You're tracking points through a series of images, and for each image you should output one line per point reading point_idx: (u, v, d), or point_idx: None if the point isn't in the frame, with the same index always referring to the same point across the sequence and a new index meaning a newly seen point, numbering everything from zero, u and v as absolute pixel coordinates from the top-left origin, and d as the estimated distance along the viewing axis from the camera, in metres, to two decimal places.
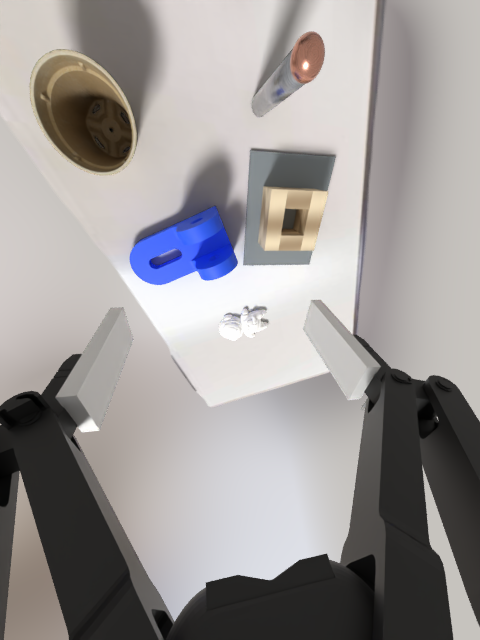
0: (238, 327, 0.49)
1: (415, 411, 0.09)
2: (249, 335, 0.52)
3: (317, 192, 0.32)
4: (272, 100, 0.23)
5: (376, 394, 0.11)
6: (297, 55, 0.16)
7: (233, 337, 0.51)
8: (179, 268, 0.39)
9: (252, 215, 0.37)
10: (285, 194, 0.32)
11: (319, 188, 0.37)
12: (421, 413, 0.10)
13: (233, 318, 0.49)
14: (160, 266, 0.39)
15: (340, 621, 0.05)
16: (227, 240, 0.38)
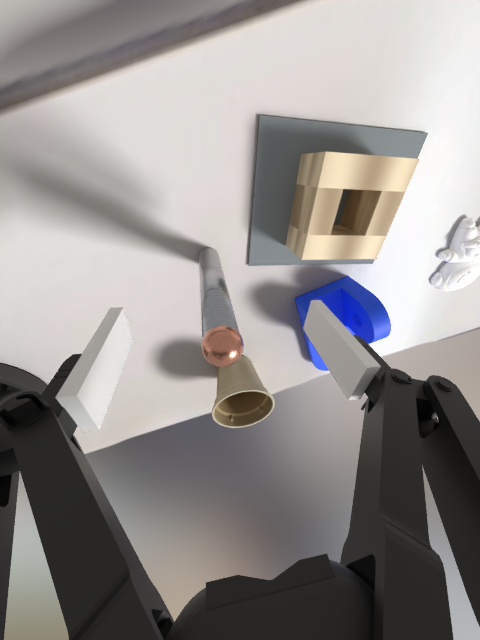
0: (466, 269, 0.32)
1: (415, 411, 0.09)
2: None
3: (321, 177, 0.18)
4: None
5: (376, 394, 0.11)
6: None
7: (477, 275, 0.33)
8: None
9: None
10: (312, 238, 0.21)
11: (302, 141, 0.21)
12: (421, 412, 0.10)
13: (444, 273, 0.33)
14: None
15: (339, 620, 0.05)
16: (336, 291, 0.30)
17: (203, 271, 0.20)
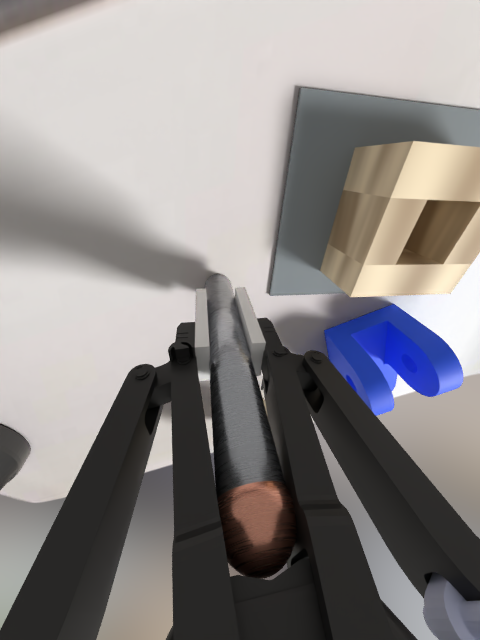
0: None
1: (297, 378, 0.10)
2: None
3: (399, 182, 0.12)
4: None
5: (267, 373, 0.12)
6: None
7: None
8: (386, 373, 0.29)
9: None
10: (369, 268, 0.15)
11: (359, 129, 0.14)
12: (301, 384, 0.11)
13: None
14: None
15: (340, 621, 0.05)
16: (381, 324, 0.23)
17: (212, 319, 0.14)
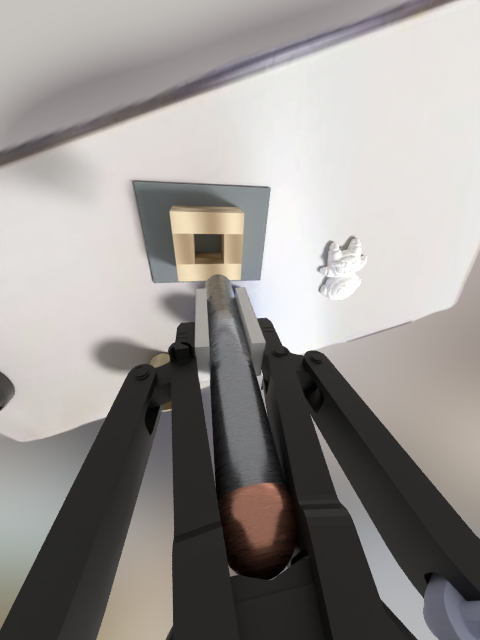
0: (341, 283, 0.39)
1: (297, 378, 0.10)
2: (361, 266, 0.38)
3: (172, 227, 0.26)
4: None
5: (267, 373, 0.12)
6: None
7: (353, 288, 0.40)
8: None
9: None
10: (181, 266, 0.29)
11: (171, 197, 0.28)
12: (301, 384, 0.11)
13: (327, 285, 0.40)
14: None
15: (340, 621, 0.05)
16: None
17: (212, 319, 0.14)
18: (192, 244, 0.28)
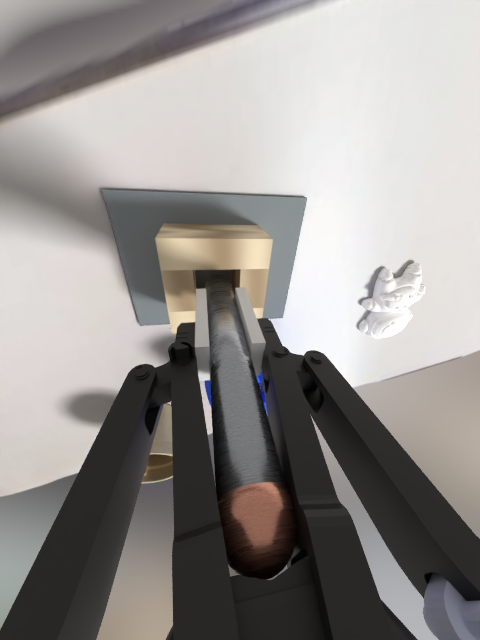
0: (390, 320, 0.30)
1: (297, 378, 0.10)
2: (417, 299, 0.29)
3: (161, 261, 0.17)
4: None
5: (267, 373, 0.12)
6: None
7: (403, 326, 0.31)
8: None
9: None
10: (175, 314, 0.20)
11: (161, 211, 0.19)
12: (301, 384, 0.11)
13: (369, 321, 0.31)
14: None
15: (340, 621, 0.05)
16: None
17: (212, 319, 0.14)
18: (192, 284, 0.18)
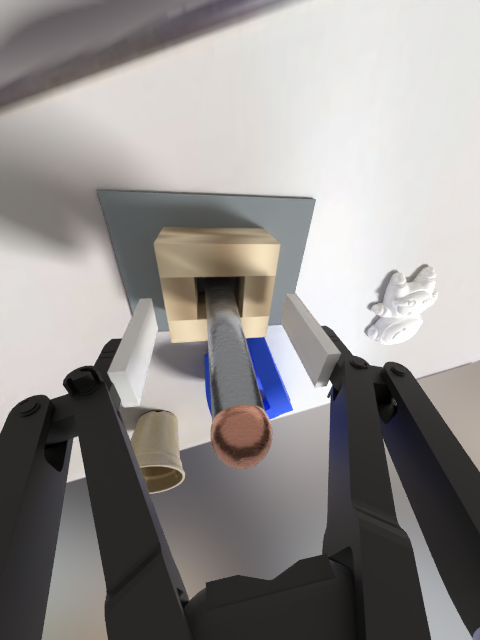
0: (401, 326, 0.28)
1: (373, 394, 0.09)
2: (430, 304, 0.28)
3: (160, 268, 0.15)
4: None
5: (339, 382, 0.11)
6: None
7: (414, 332, 0.29)
8: None
9: None
10: (175, 323, 0.18)
11: (160, 214, 0.18)
12: (379, 397, 0.11)
13: (379, 327, 0.29)
14: None
15: (340, 621, 0.05)
16: None
17: (210, 299, 0.16)
18: (193, 292, 0.17)
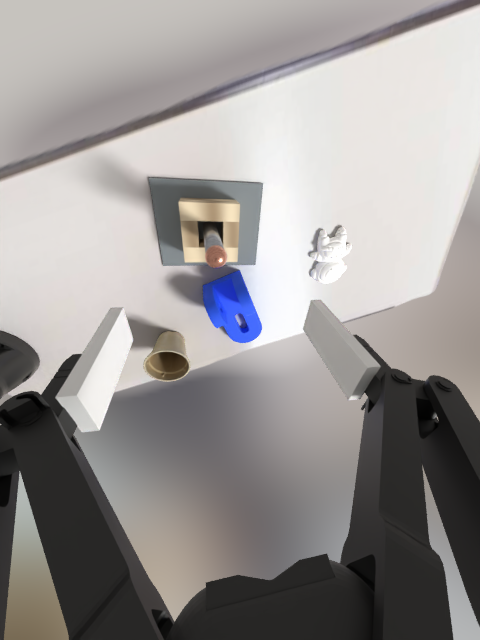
0: (329, 267, 0.44)
1: (415, 411, 0.09)
2: (346, 252, 0.44)
3: (181, 215, 0.32)
4: None
5: (376, 394, 0.11)
6: (217, 267, 0.25)
7: (339, 272, 0.45)
8: (250, 315, 0.49)
9: None
10: (187, 249, 0.35)
11: (179, 190, 0.34)
12: (422, 413, 0.10)
13: (317, 269, 0.46)
14: None
15: (340, 621, 0.05)
16: (228, 280, 0.43)
17: (205, 230, 0.32)
18: (196, 230, 0.33)
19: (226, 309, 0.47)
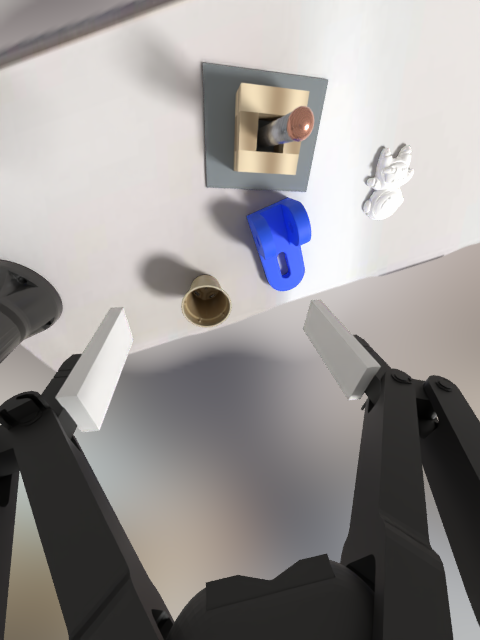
0: (387, 195, 0.40)
1: (415, 411, 0.09)
2: (407, 179, 0.39)
3: (241, 102, 0.27)
4: None
5: (376, 394, 0.11)
6: (301, 138, 0.21)
7: (397, 203, 0.41)
8: (294, 255, 0.44)
9: (258, 182, 0.37)
10: (243, 152, 0.30)
11: (235, 83, 0.30)
12: (422, 413, 0.10)
13: (372, 199, 0.41)
14: (289, 269, 0.47)
15: (339, 620, 0.05)
16: (277, 207, 0.38)
17: (268, 124, 0.28)
18: (256, 126, 0.29)
19: None
